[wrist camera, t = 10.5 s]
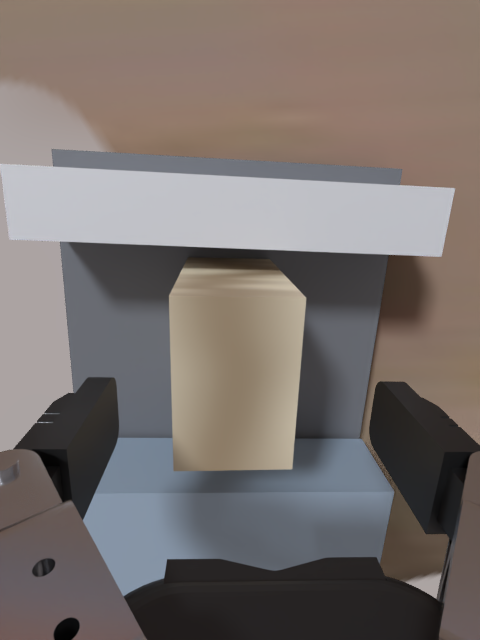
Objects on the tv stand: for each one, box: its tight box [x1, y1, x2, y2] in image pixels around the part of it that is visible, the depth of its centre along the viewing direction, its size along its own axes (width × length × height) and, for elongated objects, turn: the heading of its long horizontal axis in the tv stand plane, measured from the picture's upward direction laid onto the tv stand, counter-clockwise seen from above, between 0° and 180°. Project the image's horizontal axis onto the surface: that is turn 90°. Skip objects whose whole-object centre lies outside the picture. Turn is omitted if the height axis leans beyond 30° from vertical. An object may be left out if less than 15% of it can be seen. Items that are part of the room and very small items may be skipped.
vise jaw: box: [83, 438, 394, 596], centre depth 20 cm, size 16×8×4 cm, turn 87°
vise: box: [0, 149, 455, 439], centre depth 19 cm, size 16×24×6 cm, turn 177°
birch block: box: [169, 257, 306, 471], centre depth 16 cm, size 4×6×8 cm, turn 178°
